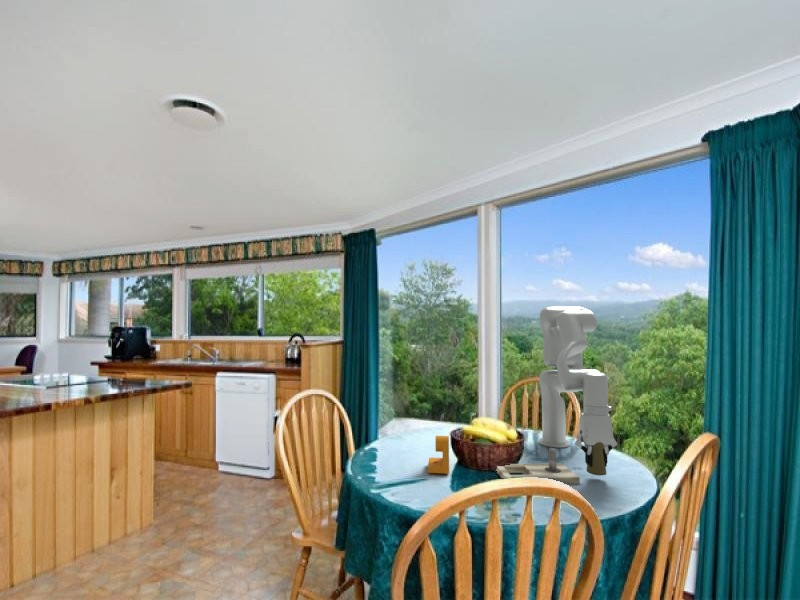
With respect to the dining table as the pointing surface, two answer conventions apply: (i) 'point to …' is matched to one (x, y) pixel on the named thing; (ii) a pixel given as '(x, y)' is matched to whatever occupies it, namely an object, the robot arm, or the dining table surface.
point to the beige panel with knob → (541, 470)
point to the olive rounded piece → (597, 460)
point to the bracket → (440, 463)
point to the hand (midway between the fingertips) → (596, 464)
